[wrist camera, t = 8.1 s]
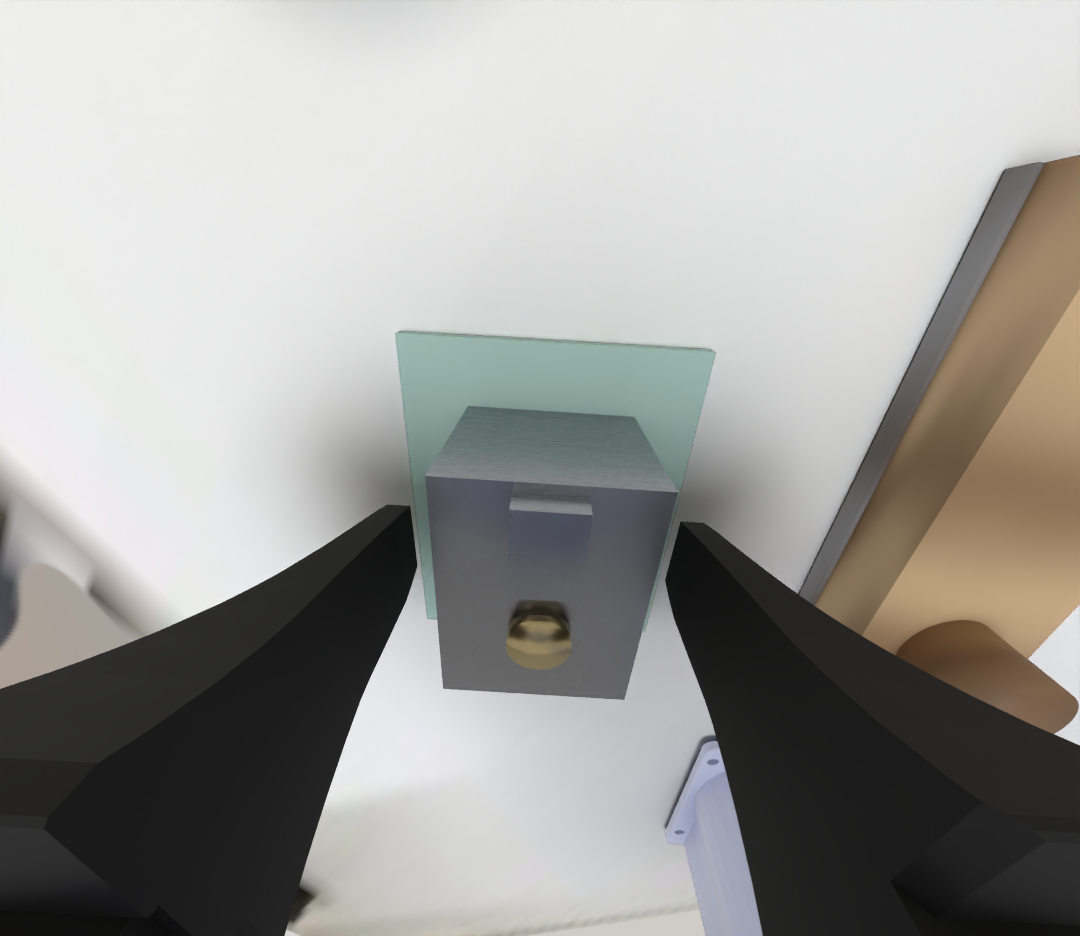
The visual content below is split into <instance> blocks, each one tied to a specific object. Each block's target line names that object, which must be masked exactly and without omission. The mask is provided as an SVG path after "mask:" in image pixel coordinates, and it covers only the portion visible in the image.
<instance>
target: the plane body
mask: <svg viewBox="0 0 1080 936" xmlns="http://www.w3.org/2000/svg"><path fill="white" fill-rule="evenodd" d="M799 595H800V596H801V597H803V598H804V599H806V600H807V601H808V602H810V603H811V604H813V605H814V606H816V607H817V608H819V609H820V610H822V611H823V612H825V613H826V614H828V615H829V616H831V617H832V618H834V619H835V620H837V621H839V622H840V623H842V624H843V625H845V626H847V627H848V628H850V629H852V630H853V631H855V632H856V633H858V634H860V635H861V636H863V637H864V638H866V639H868V640H869V641H871V642H873V643H875V644H876V645H878V646H880V647H881V648H883V649H885V650H887V651H888V652H890V653H892V654H894V655H896V656H897V657H899V658H901V659H903V660H905V661H907V662H908V663H910V664H912V665H914V666H916V667H918V668H919V669H921V670H923V671H925V672H927V673H929V674H930V675H932V676H934V677H936V678H938V679H940V680H942V681H944V682H946V683H948V684H950V685H952V686H954V687H956V688H957V689H959V690H961V691H963V692H965V693H967V694H969V695H971V696H973V697H975V698H978V699H980V700H982V701H984V702H986V703H988V704H990V705H992V706H994V707H996V708H998V709H1000V710H1002V711H1004V712H1007V713H1009V714H1011V715H1013V716H1015V717H1017V718H1019V719H1021V720H1023V721H1025V722H1027V723H1030V724H1032V725H1034V726H1036V727H1038V728H1041V729H1043V730H1045V731H1047V732H1050V733H1052V734H1055V733H1056V732H1058V731H1059V730H1061V729H1062V728H1064V727H1065V726H1066V725H1068V724H1069V723H1070V722H1071V721H1072V719H1073V718H1074V717H1075V715H1076V714H1077V711H1078V701H1077V700H1076V698H1075V697H1074V696H1072V695H1071V694H1070V693H1069V692H1068V691H1066V690H1065V689H1064V688H1063V687H1061V686H1060V685H1059V684H1058V683H1056V682H1055V681H1054V680H1053V679H1052V678H1050V677H1049V676H1048V675H1047V674H1045V673H1044V672H1043V671H1042V670H1040V669H1039V668H1038V667H1037V666H1036V665H1034V664H1033V663H1032V662H1031V661H1029V660H1028V658H1029V657H1030V656H1031V655H1032V654H1033V653H1034V652H1035V651H1036V650H1037V649H1038V648H1039V647H1040V645H1041V644H1042V643H1043V642H1044V641H1045V640H1046V639H1047V638H1048V637H1049V636H1050V635H1051V634H1052V633H1053V632H1054V631H1055V630H1056V629H1057V628H1058V626H1059V625H1060V624H1061V623H1062V622H1063V621H1064V620H1065V619H1066V618H1067V617H1068V616H1069V615H1070V614H1071V613H1072V612H1073V611H1074V610H1075V609H1076V608H1077V606H1078V605H1079V604H1080V155H1078V156H1073V157H1069V158H1064V159H1060V160H1055V161H1050V162H1046V163H1042V162H1036V163H1032V164H1027V165H1023V166H1018V167H1014V168H1010V169H1006V170H1005V172H1004V174H1003V176H1002V178H1001V180H1000V182H999V184H998V186H997V188H996V190H995V192H994V194H993V196H992V198H991V200H990V202H989V205H988V207H987V209H986V211H985V213H984V215H983V217H982V219H981V221H980V223H979V225H978V227H977V229H976V231H975V233H974V235H973V237H972V240H971V242H970V244H969V246H968V248H967V250H966V252H965V254H964V256H963V258H962V260H961V262H960V264H959V266H958V268H957V270H956V272H955V275H954V277H953V279H952V281H951V283H950V285H949V287H948V289H947V291H946V293H945V295H944V297H943V299H942V301H941V303H940V305H939V307H938V309H937V312H936V314H935V316H934V318H933V320H932V322H931V324H930V326H929V328H928V330H927V332H926V334H925V336H924V338H923V340H922V342H921V344H920V347H919V349H918V351H917V353H916V355H915V357H914V359H913V361H912V363H911V365H910V367H909V369H908V371H907V373H906V375H905V377H904V379H903V382H902V384H901V386H900V388H899V390H898V392H897V394H896V396H895V398H894V400H893V402H892V404H891V406H890V408H889V410H888V412H887V414H886V416H885V419H884V421H883V423H882V425H881V427H880V429H879V431H878V433H877V435H876V437H875V439H874V441H873V443H872V445H871V447H870V449H869V451H868V454H867V456H866V458H865V460H864V462H863V464H862V466H861V468H860V470H859V472H858V474H857V476H856V478H855V480H854V482H853V484H852V486H851V489H850V491H849V493H848V495H847V497H846V499H845V501H844V503H843V505H842V507H841V509H840V511H839V513H838V515H837V517H836V519H835V521H834V523H833V526H832V528H831V530H830V532H829V534H828V536H827V538H826V540H825V542H824V544H823V546H822V548H821V550H820V552H819V554H818V556H817V558H816V561H815V563H814V565H813V567H812V569H811V571H810V573H809V575H808V577H807V579H806V581H805V583H804V585H803V587H802V589H801V591H800V593H799Z"/></svg>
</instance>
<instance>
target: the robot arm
mask: <svg viewBox="0 0 1080 936" xmlns="http://www.w3.org/2000/svg"><path fill="white" fill-rule="evenodd" d="M416 569H417V559H416V551H415V542H414V534H413V526H412V517H411V509H410V506H401V505H386V506H384V507H383V508H381V509H379V510H378V511H376V512H375V513H373V514H372V515H370V516H368V517H367V518H365V519H364V520H363V521H361V522H360V523H358V524H357V525H355V526H354V527H352V528H351V529H349V530H348V531H346V532H345V533H343V534H341V535H340V536H338V537H337V538H335V539H334V540H332V541H331V542H329V543H328V544H326V545H325V546H323V547H322V548H320V549H318V550H317V551H315V552H313V553H312V554H310V555H308V556H307V557H305V558H303V559H302V560H300V561H298V562H297V563H295V564H293V565H292V566H290V567H289V568H287V569H285V570H284V571H282V572H280V573H278V574H277V575H275V576H273V577H271V578H269V579H268V580H266V581H264V582H262V583H260V584H258V585H256V586H254V587H252V588H250V589H249V590H247V591H245V592H243V593H241V594H239V595H237V596H235V597H233V598H231V599H229V600H227V601H225V602H223V603H221V604H218V605H216V606H214V607H212V608H209V609H207V610H205V611H203V612H201V613H198V614H196V615H194V616H192V617H189V618H187V619H185V620H183V621H180V622H178V623H176V624H174V625H171V626H169V627H167V628H165V629H162V630H160V631H158V632H155V633H153V634H150V635H148V636H145V637H143V638H140V639H138V640H135V641H133V642H130V643H128V644H126V645H123V646H120V647H118V648H115V649H112V650H110V651H108V652H105V653H102V654H99V655H97V656H94V657H91V658H89V659H86V660H83V661H81V662H78V663H75V664H73V665H69V666H67V667H64V668H61V669H58V670H56V671H53V672H50V673H47V674H44V675H41V676H38V677H35V678H32V679H29V680H26V681H23V682H20V683H17V684H14V685H11V686H8V687H5V688H2V689H0V936H284V935H285V932H286V928H287V925H288V921H289V918H290V915H291V911H292V908H293V904H294V901H295V898H296V894H297V891H298V887H299V884H300V881H301V877H302V874H303V871H304V867H305V864H306V860H307V857H308V854H309V851H310V848H311V844H312V841H313V838H314V835H315V832H316V829H317V826H318V822H319V819H320V816H321V813H322V810H323V807H324V803H325V800H326V797H327V794H328V791H329V788H330V785H331V782H332V779H333V776H334V774H335V771H336V768H337V765H338V762H339V759H340V756H341V753H342V750H343V747H344V744H345V741H346V739H347V736H348V733H349V730H350V728H351V725H352V722H353V719H354V717H355V714H356V711H357V708H358V705H359V703H360V700H361V698H362V695H363V693H364V691H365V688H366V686H367V684H368V681H369V679H370V677H371V675H372V673H373V671H374V668H375V666H376V664H377V662H378V660H379V658H380V656H381V654H382V652H383V649H384V647H385V645H386V643H387V641H388V639H389V637H390V635H391V632H392V630H393V628H394V626H395V624H396V622H397V620H398V617H399V615H400V613H401V611H402V609H403V607H404V604H405V602H406V600H407V597H408V594H409V591H410V588H411V585H412V582H413V578H414V575H415V572H416ZM665 582H666V587H667V591H668V596H669V600H670V604H671V608H672V612H673V616H674V619H675V622H676V625H677V627H678V630H679V633H680V635H681V638H682V641H683V644H684V646H685V649H686V651H687V654H688V657H689V659H690V662H691V665H692V667H693V670H694V673H695V675H696V678H697V680H698V683H699V686H700V688H701V691H702V694H703V696H704V699H705V702H706V705H707V708H708V711H709V714H710V717H711V720H712V723H713V727H714V731H715V734H716V738H717V741H710V742H707V743H705V744H704V745H703V746H702V748H701V751H700V753H699V755H698V758H697V760H696V762H695V764H694V767H693V769H692V771H691V774H690V776H689V778H688V780H687V783H686V785H685V787H684V790H683V792H682V794H681V796H680V799H679V801H678V803H677V806H676V808H675V810H674V812H673V815H672V817H671V819H670V822H669V824H668V826H667V828H666V831H665V836H666V841H667V842H668V843H670V844H679V845H685V850H686V854H687V858H688V863H689V867H690V871H691V875H692V880H693V884H694V888H695V893H696V897H697V901H698V905H699V910H700V914H701V918H702V922H703V927H704V931H705V935H706V936H1080V746H1079V745H1077V744H1075V743H1073V742H1070V741H1068V740H1066V739H1063V738H1061V737H1059V736H1057V735H1054V734H1052V733H1050V732H1047V731H1045V730H1043V729H1041V728H1038V727H1036V726H1034V725H1032V724H1030V723H1027V722H1025V721H1023V720H1021V719H1019V718H1017V717H1015V716H1013V715H1011V714H1009V713H1007V712H1004V711H1002V710H1000V709H998V708H996V707H994V706H992V705H990V704H988V703H986V702H984V701H982V700H980V699H978V698H975V697H973V696H971V695H969V694H967V693H965V692H963V691H961V690H959V689H957V688H956V687H954V686H952V685H950V684H948V683H946V682H944V681H942V680H940V679H938V678H936V677H934V676H932V675H930V674H929V673H927V672H925V671H923V670H921V669H919V668H918V667H916V666H914V665H912V664H910V663H908V662H907V661H905V660H903V659H901V658H899V657H897V656H896V655H894V654H892V653H890V652H888V651H887V650H885V649H883V648H881V647H880V646H878V645H876V644H875V643H873V642H871V641H869V640H868V639H866V638H864V637H863V636H861V635H860V634H858V633H856V632H855V631H853V630H852V629H850V628H848V627H847V626H845V625H843V624H842V623H840V622H839V621H837V620H835V619H834V618H832V617H831V616H829V615H828V614H826V613H825V612H823V611H822V610H820V609H819V608H817V607H816V606H814V605H813V604H811V603H810V602H808V601H807V600H806V599H804V598H803V597H801V596H800V595H798V594H797V593H796V592H794V591H793V590H791V589H790V588H788V587H787V586H786V585H784V584H783V583H782V582H780V581H779V580H778V579H776V578H775V577H774V576H772V575H771V574H770V573H768V572H767V571H766V570H764V569H763V568H762V567H760V566H759V565H758V564H757V563H755V562H754V561H753V560H751V559H750V558H749V557H748V556H746V555H745V554H744V553H743V552H741V551H740V550H739V549H737V548H736V547H735V546H734V545H732V544H731V543H730V542H729V541H727V540H726V539H725V538H723V537H722V536H721V535H720V534H718V533H717V532H716V531H714V530H713V529H712V528H710V527H709V526H707V525H706V524H704V523H694V522H680V526H679V530H678V534H677V538H676V541H675V545H674V549H673V553H672V556H671V560H670V564H669V568H668V571H667V575H666V579H665Z"/></svg>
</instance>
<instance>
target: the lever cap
mask: <svg viewBox="0 0 1080 936" xmlns="http://www.w3.org/2000/svg"><path fill="white" fill-rule="evenodd" d="M425 481H426V492H427V504H428V516H429V527H430V539H431V550H432V562H433V574H434V585H435V597H436V609H437V620H438V632H439V644H440V655H441V667H442V678H443V689H458V690H475V691H491V692H507V693H524V694H540V695H557V696H573V697H589V698H606V699H622V700H624V698H625V695H626V691H627V687H628V683H629V679H630V675H631V671H632V668H633V664H634V660H635V656H636V652H637V648H638V645H639V641H640V637H641V633H642V629H643V625H644V621H645V618H646V614H647V610H648V606H649V602H650V598H651V595H652V591H653V587H654V583H655V579H656V575H657V571H658V568H659V564H660V560H661V556H662V552H663V548H664V545H665V541H666V537H667V533H668V529H669V525H670V521H671V518H672V514H673V510H674V506H675V502H676V498H677V494H678V491H677V490H676V488H675V486H674V484H673V483H672V481H671V479H670V477H669V476H668V474H667V472H666V471H665V469H664V467H663V465H662V464H661V462H660V460H659V458H658V457H657V455H656V453H655V452H654V450H653V448H652V446H651V445H650V443H649V441H648V439H647V438H646V436H645V434H644V433H643V431H642V429H641V427H640V426H639V424H638V422H637V420H636V419H635V417H631V416H616V415H601V414H585V413H570V412H555V411H540V410H524V409H509V408H494V407H479V406H468V407H467V408H466V410H465V412H464V413H463V415H462V417H461V418H460V420H459V421H458V423H457V425H456V426H455V428H454V430H453V431H452V433H451V434H450V436H449V438H448V439H447V441H446V443H445V444H444V446H443V448H442V449H441V451H440V452H439V454H438V456H437V457H436V459H435V461H434V462H433V464H432V466H431V467H430V469H429V470H428V472H427V474H426V475H425Z"/></svg>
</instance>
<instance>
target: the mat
mask: <svg viewBox="0 0 1080 936" xmlns="http://www.w3.org/2000/svg"><path fill="white" fill-rule="evenodd" d="M395 336H396V345H397V354H398V363H399V372H400V380H401V389H402V398H403V407H404V416H405V425H406V434H407V443H408V451H409V460H410V469H411V478H412V487H413V496H414V505H415V514H416V522H417V531H418V540H419V549H420V558H421V567H422V576H423V585H424V593H425V602H426V611H427V619H437V609H436V597H435V585H434V574H433V562H432V550H431V539H430V527H429V516H428V504H427V492H426V481H425V475H426V474H427V472H428V470H429V469H430V467H431V466H432V464H433V462H434V461H435V459H436V457H437V456H438V454H439V452H440V451H441V449H442V448H443V446H444V444H445V443H446V441H447V439H448V438H449V436H450V434H451V433H452V431H453V430H454V428H455V426H456V425H457V423H458V421H459V420H460V418H461V417H462V415H463V413H464V412H465V410H466V408H467V407H468V406H479V407H494V408H509V409H524V410H540V411H555V412H570V413H585V414H601V415H616V416H631V417H635V419H636V420H637V422H638V424H639V426H640V427H641V429H642V431H643V433H644V434H645V436H646V438H647V439H648V441H649V443H650V445H651V446H652V448H653V450H654V452H655V453H656V455H657V457H658V458H659V460H660V462H661V464H662V465H663V467H664V469H665V471H666V472H667V474H668V476H669V477H670V479H671V481H672V483H673V484H674V486H675V488H676V490H677V491H678V494H677V498H676V502H675V506H674V510H673V514H672V518H671V521H670V525H669V529H668V533H667V537H666V541H665V545H664V548H663V552H662V556H661V560H660V564H659V568H658V571H657V575H656V579H655V583H654V587H653V591H652V595H651V598H650V602H649V606H648V610H647V614H646V618H645V621H644V625H643V629H642V631H645V629H646V625H647V621H648V617H649V613H650V609H651V606H652V602H653V598H654V594H655V590H656V586H657V582H658V578H659V574H660V570H661V566H662V562H663V558H664V555H665V551H666V547H667V543H668V539H669V535H670V531H671V527H672V523H673V519H674V515H675V511H676V507H677V503H678V500H679V496H680V492H681V488H682V484H683V480H684V476H685V472H686V468H687V464H688V460H689V456H690V452H691V449H692V445H693V441H694V437H695V433H696V429H697V425H698V421H699V417H700V413H701V409H702V405H703V401H704V397H705V394H706V390H707V386H708V382H709V378H710V374H711V370H712V366H713V362H714V358H715V354H716V352H715V351H713V350H710V349H696V348H679V347H662V346H646V345H629V344H612V343H595V342H578V341H561V340H544V339H527V338H511V337H494V336H477V335H460V334H443V333H426V332H409V331H399V332H397V333H395Z"/></svg>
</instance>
